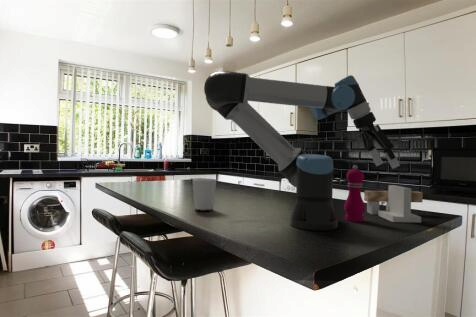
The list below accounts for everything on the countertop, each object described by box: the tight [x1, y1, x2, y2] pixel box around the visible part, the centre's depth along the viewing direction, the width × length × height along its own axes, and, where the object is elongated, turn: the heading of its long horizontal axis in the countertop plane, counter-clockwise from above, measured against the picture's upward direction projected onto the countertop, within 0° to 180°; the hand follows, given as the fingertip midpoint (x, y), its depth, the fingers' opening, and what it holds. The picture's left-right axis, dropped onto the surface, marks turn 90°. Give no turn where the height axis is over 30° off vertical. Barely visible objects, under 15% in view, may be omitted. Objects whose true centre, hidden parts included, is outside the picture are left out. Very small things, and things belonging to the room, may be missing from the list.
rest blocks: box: [366, 201, 388, 215], centre depth 131 cm, size 11×5×5 cm, turn 90°
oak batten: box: [363, 190, 424, 203], centre depth 131 cm, size 22×4×4 cm, turn 90°
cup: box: [192, 177, 217, 212], centre depth 131 cm, size 10×10×13 cm
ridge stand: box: [377, 184, 422, 223], centre depth 120 cm, size 10×12×12 cm
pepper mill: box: [343, 164, 366, 223], centre depth 116 cm, size 7×7×20 cm
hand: (387, 165), depth 120 cm, fingers open, 13 cm apart
